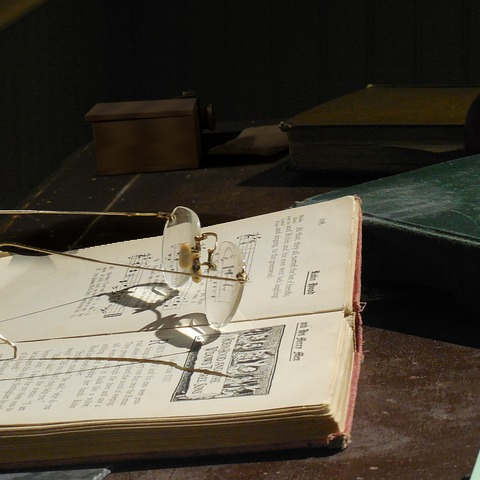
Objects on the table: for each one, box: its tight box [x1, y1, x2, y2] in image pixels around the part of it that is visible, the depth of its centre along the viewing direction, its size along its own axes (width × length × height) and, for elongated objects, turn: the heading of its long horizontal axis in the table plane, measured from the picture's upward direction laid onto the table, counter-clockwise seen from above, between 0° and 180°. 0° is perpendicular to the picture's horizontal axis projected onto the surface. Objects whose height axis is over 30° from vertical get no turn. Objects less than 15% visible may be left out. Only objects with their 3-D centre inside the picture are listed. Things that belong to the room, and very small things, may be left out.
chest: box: [91, 104, 203, 177], centre depth 144 cm, size 15×12×8 cm
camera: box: [172, 90, 217, 151], centre depth 158 cm, size 16×7×8 cm, turn 1°
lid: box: [84, 98, 197, 122], centre depth 143 cm, size 16×12×1 cm
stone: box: [206, 124, 290, 157], centre depth 149 cm, size 11×16×3 cm
